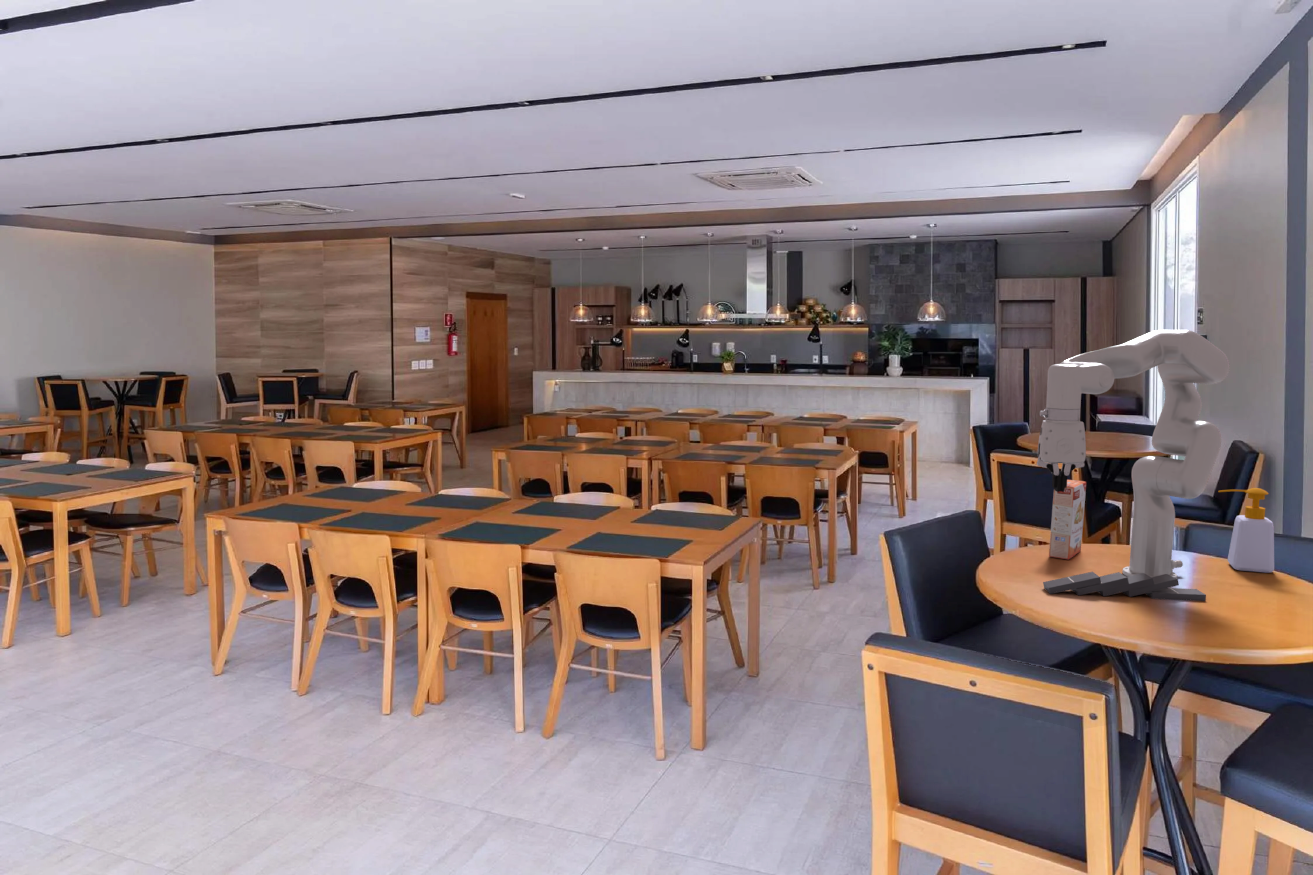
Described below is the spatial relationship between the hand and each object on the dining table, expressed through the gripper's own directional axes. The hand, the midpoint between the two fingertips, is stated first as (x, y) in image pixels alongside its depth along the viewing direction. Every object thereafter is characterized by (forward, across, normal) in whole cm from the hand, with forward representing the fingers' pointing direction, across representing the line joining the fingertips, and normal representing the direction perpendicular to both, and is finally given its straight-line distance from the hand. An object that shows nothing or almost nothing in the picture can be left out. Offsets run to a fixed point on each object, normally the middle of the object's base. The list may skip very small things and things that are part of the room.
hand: (1059, 490), depth 222 cm
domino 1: (+24, -2, 0) cm, 24 cm away
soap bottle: (+26, +58, +33) cm, 71 cm away
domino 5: (+25, +22, 0) cm, 33 cm away
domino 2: (+24, +4, -1) cm, 25 cm away
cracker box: (+26, +14, +40) cm, 50 cm away
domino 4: (+24, +16, 0) cm, 29 cm away
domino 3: (+24, +10, -1) cm, 26 cm away
